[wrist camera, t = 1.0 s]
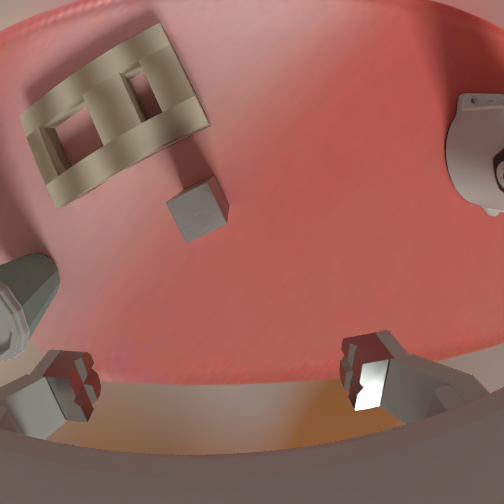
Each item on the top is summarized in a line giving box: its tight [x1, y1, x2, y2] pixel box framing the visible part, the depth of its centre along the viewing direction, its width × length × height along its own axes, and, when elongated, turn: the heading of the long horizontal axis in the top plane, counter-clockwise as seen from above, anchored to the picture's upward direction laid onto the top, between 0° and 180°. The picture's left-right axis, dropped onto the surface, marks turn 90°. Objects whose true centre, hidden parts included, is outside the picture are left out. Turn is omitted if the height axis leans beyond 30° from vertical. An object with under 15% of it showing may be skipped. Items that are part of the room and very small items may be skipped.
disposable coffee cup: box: [0, 254, 60, 361], centre depth 32 cm, size 11×11×15 cm
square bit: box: [166, 175, 229, 243], centre depth 33 cm, size 4×4×10 cm
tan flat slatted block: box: [19, 23, 211, 209], centre depth 32 cm, size 20×13×4 cm, turn 114°
